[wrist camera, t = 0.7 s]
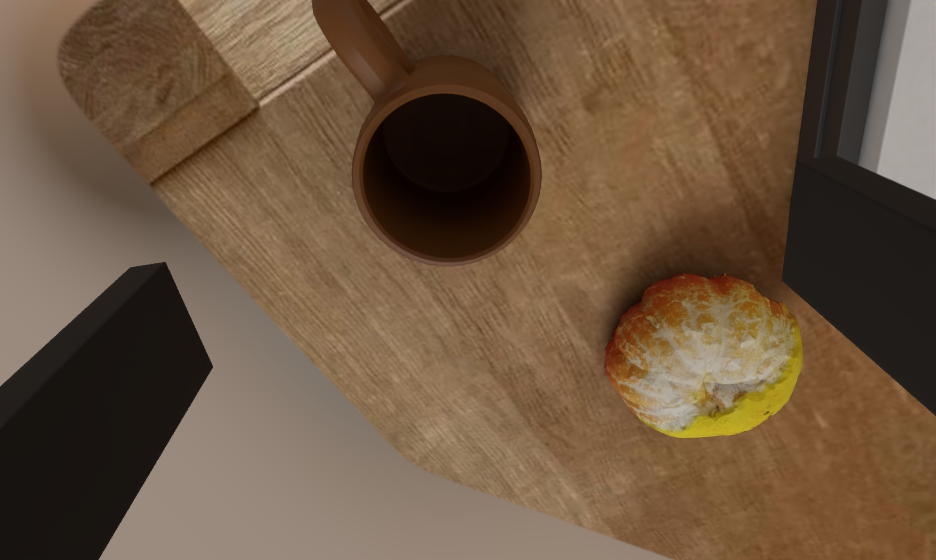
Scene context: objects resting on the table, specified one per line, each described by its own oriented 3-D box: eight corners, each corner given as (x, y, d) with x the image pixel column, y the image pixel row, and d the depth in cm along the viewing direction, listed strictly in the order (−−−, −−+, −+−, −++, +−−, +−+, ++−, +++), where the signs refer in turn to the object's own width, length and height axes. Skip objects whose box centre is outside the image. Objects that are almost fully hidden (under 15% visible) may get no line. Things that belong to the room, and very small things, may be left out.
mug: (288, 30, 28) (220, 47, 19) (415, -68, 26) (402, -96, 18) (428, 222, 32) (422, 302, 24) (543, 149, 31) (580, 209, 22)
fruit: (771, 231, 33) (857, 333, 27) (749, 340, 40) (814, 440, 34) (583, 280, 34) (629, 390, 28) (596, 379, 41) (634, 483, 35)
